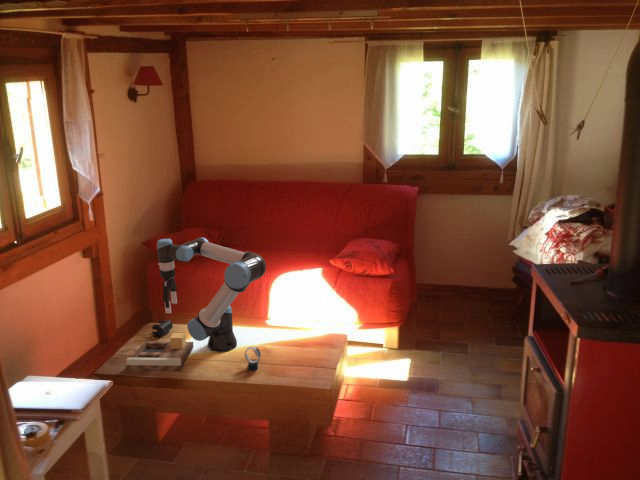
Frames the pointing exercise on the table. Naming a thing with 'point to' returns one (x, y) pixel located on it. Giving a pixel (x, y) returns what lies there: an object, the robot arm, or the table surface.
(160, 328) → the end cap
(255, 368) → the watch
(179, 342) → the block
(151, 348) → the board
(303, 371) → the table surface
